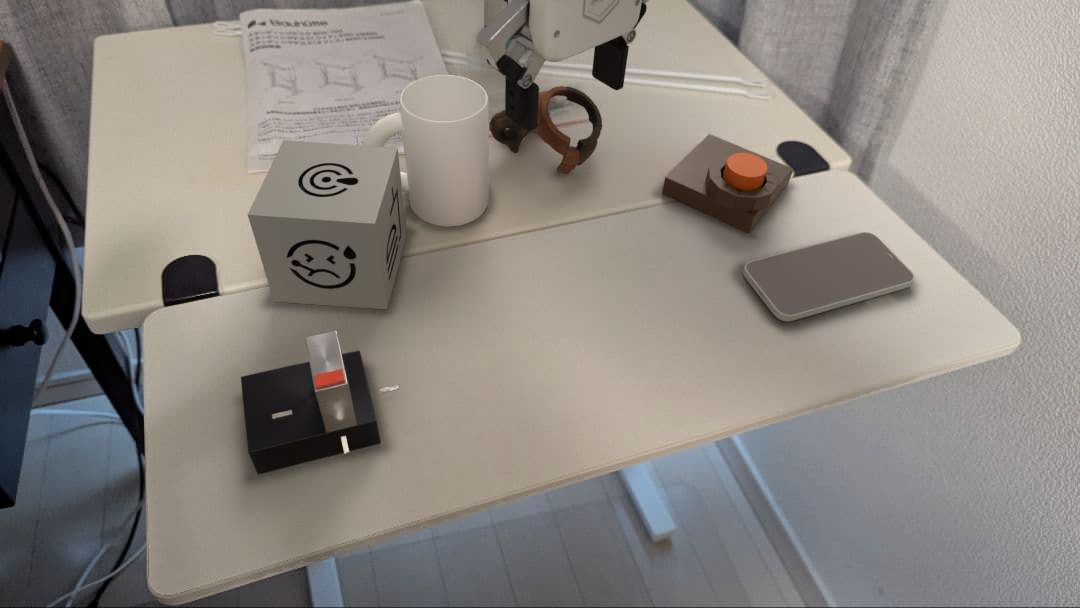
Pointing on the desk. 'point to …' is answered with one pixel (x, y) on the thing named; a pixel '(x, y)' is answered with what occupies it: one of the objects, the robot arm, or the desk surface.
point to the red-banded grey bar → (330, 381)
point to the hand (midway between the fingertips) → (565, 102)
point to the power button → (745, 171)
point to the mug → (442, 148)
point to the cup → (494, 12)
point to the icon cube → (331, 224)
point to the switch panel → (303, 416)
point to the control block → (723, 184)
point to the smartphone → (827, 275)
